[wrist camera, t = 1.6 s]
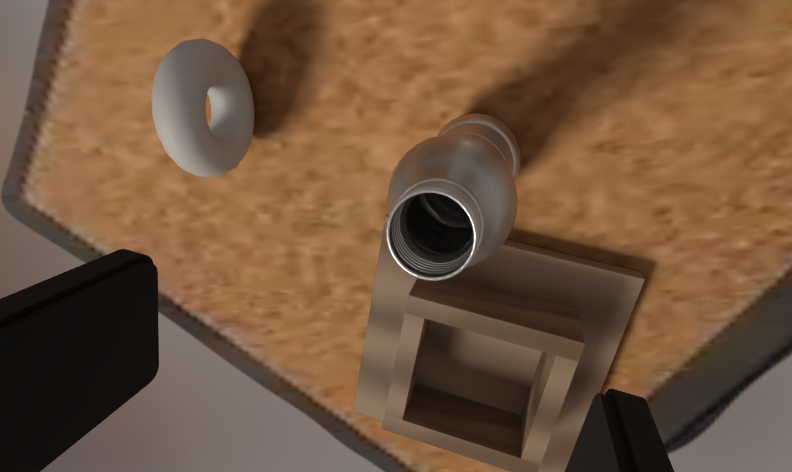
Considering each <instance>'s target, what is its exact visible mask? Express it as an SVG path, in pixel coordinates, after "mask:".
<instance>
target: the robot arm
mask: <svg viewBox="0 0 792 472" xmlns="http://www.w3.org/2000/svg"><path fill="white" fill-rule="evenodd" d="M158 349H159V346H158V272H157V268H156V266H155V265H154V264H153V261H152V259H151V258H150V257H149V256H147V255H144V254H140V253H137V252H133V251H130V250H126V249H121V250H117V251H115V252H113V253H110V254H108V255H105V256H103V257H100V258H98V259H96V260H93V261H91V262H88V263H86V264H84V265H81V266H79V267H76V268H74V269H71V270H69V271H67V272H64V273H62V274H59V275H57V276H55V277H52V278H50V279H48V280H45V281H42V282H40V283H38V284H35V285H33V286H31V287H28V288H26V289H23V290H21V291H18V292H16V293H14V294H11V295H9V296H6V297H4V298H1V299H0V472H40V471H41V470H42V469H44V468H45V467H46V466H47V465H49V464H50V463H51V462H52V461H54V460H55V459H56V458H57V457H59V456H60V455H61V454H62V453H63V452H65V451H66V450H67V449H68V448H70V447H71V446H72V445H73V444H75V443H76V442H77V441H78V440H80V439H81V438H82V437H83V436H85V435H86V434H87V433H88V432H89V431H91V430H92V429H93V428H95V427H96V426H97V425H98V424H99V423H101V422H102V421H103V420H104V419H106V418H107V417H108V416H109V415H111V414H112V413H113V412H114V411H116V410H117V409H118V408H119V407H120V406H122V405H123V404H124V403H125V402H127V401H128V400H129V399H130V398H132V397H133V396H134V395H135V394H137V393H138V392H139V391H140V390H141V389H143V388H144V387H145V386H147V385H148V384H149V383H150V382H151V381H152V380H153V379H154V377H155V376H156V373H157V371H158V367H159V351H158ZM565 472H674V470H673V468H672V465H671V463H670V460H669V458H668V455H667V453H666V450H665V448H664V445H663V442H662V440H661V437H660V435H659V432H658V430H657V427H656V425H655V422H654V420H653V417H652V415H651V412H650V409H649V407H648V404H647V402H646V400H645V399H644V398H642V397H639V396H636V395H632V394H629V393H625V392H622V391H618V390H615V389H609V390H608V391H607V392H606V394H605V395H603V394H600V393H597V394H596V395H595V396H594V398H593V400H592V403H591V405H590V408H589V410H588V413H587V416H586V418H585V421H584V423H583V426H582V428H581V431H580V433H579V436H578V439H577V441H576V444H575V446H574V449H573V451H572V454H571V457H570V459H569V462H568V464H567V467H566V469H565Z"/></svg>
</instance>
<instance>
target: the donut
mask: <svg viewBox="0 0 792 472" xmlns="http://www.w3.org/2000/svg"><path fill="white" fill-rule="evenodd" d="M207 94H208V96H209V99H210V104H211V122H210V127H209V126H208V124H207V118H206V109H205V102H206V97H207ZM152 115H153V119H154V123H155V127H156V131H157V134H158V136H159V138H160V140H161V142H162V144H163V146H164V148H165V150H166V152H167V154H168V155H169V156H170V157H171V158H172V159H173V160H174V161H175V162H176V163H177V164H178V165H179V166H180V167H181V168H182V169H184V170H186V171H188V172H190V173H192V174H194V175H197V176H200V177H215V176H222V175H224V174H226V173H227V172H229V171H231V170H232V169H234V168H236V167H237V165H238V164H239V163H240V161H241V160H242V159H243V157H244V156H245V155H246V153H247V150H248V148H249V145H250V143H251V140H252V135H253V129H254V102H253V96H252V90H251V87H250V84H249V81H248V78H247V75H246V74H245V72H244V70H243V68H242V66H241V65H240V63H239V62H238V60H237V59H236V58H235V57H234V56H233V55H232V54H231V53H230V52H229V51H228V50H227V49H226V48H225V47H223V46H221V45H219V44H217V43H215V42H212V41H210V40H206V39H195V40H188V41H183V42H181V43H179V44H178V45H177V46H175V47H174V48H173V49H172V50H170V51H169V52H168V53H167V54H165V56H164V58H163V60H162V62H161V64H160V65H159V67H158V69H157V71H156V74H155V79H154V84H153V88H152Z"/></svg>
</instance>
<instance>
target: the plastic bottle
mask: <svg viewBox="0 0 792 472" xmlns="http://www.w3.org/2000/svg"><path fill="white" fill-rule="evenodd" d="M519 168H520V151H519V146H518V143H517V141H516V138H515V137H514V135H513V133H512V132H511V130H510V129H509V128H508V127H507V126H506V125H505V124H504V123H502V122H501V121H500V120H498V119H497V118H494V117H492V116H489V115H485V114H479V113H478V114H467V115H463V116H460V117H458V118H456V119H454V120H452V121H451V122H449V123H448V124H447V125H445V127H444V128H443V129H442V130H441V131H440V132H439V134H438V135H437V137H433V138H430V139H427V140H425V141H423V142H421V143H419V144H417V145H416V146H415V147H413V148H412V149H411V150H409V151H408V152H407V153H406V154H405V156H404V157H403V158H402V159H401V160H400V161H399V163H398V165H397V166H396V168H395V170H394V172H393V174H392V177H391V180H390V183H389V187H388V195H387V208H388V217H389V218H388V221H387V227H386V240H387V244H388V248H389V250H390V252H391V255H392V257H393V258H394V260H395V261H396V262H397V264H398V265H399V266H400V267H401V268H402V269H403V270H405V271H406V272H408V273H409V274H410V275H412V276H415V277H417V278H419V279H424V280H429V281H439V280H445V279H448V278H451V277H453V276H455V275H457V274H458V273H460V272H461V271H462V270H463V269H464V268H466V267H469V266H472V265H475V264H477V263H479V262H481V261H482V260H484V259H486V258H487V257H489V256H491V255H492V254H493V253H494V252H495V251H496V250H498V249H499V248H500V247H501V246H502V244H503V243H504V242H505V240H506V239H507V238H508V236H509V234H510V232H511V230H512V228H513V226H514V223H515V218H516V214H517V203H518V197H517V191H516V185H515V180H516V178H517V175H518V172H519Z"/></svg>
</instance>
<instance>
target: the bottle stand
mask: <svg viewBox="0 0 792 472" xmlns="http://www.w3.org/2000/svg"><path fill="white" fill-rule="evenodd" d="M388 218H389V217H388V215H387V216H386V218H385V224H384V230H383V236H382V242H381V248H380V254H379V260H378V266H377V272H376V278H375V284H374V290H373V296H372V301H371V307H370V313H369V319H368V325H367V331H366V337H365V343H364V349H363V355H362V361H361V367H360V373H359V379H358V385H357V391H356V397H355V402H354V408H353V411H354V412H357V413H360V414H364V415H367V416H370V417H373V418H376V419H379V420H382V421H383V425H382V429H384V430H387V431H390V432H393V433H396V434H399V435H402V436H405V437H408V438H411V439H414V440H417V441H420V442H423V443H426V444H430V445H433V446H436V447H439V448H442V449H445V450H448V451H451V452H454V453H457V454H460V455H463V456H466V457H469V458H472V459H475V460H478V461H481V462H484V463H487V464H490V465H493V466H496V467H499V468H502V469H505V470H508V471H511V472H565V469H566V467H567V464H568V462H569V459H570V457H571V454H572V451H573V449H574V446H575V444H576V441H577V439H578V436H579V433H580V431H581V428H582V426H583V423H584V421H585V418H586V416H587V413H588V410H589V408H590V405H591V403H592V400H593V398H594V396H595V395H596V394H597V393H600V391H601V388H602V386H603V383H604V381H605V378H606V376H607V373H608V371H609V368H610V366H611V363H612V361H613V358H614V356H615V353H616V351H617V348H618V346H619V343H620V341H621V338H622V336H623V333H624V331H625V328H626V326H627V323H628V321H629V318H630V316H631V313H632V310H633V308H634V305H635V303H636V300H637V298H638V295H639V293H640V290H641V288H642V285H643V283H644V280H645V279H644V277H643V276H642V274H641V273H640V272H639V271H635V270H630V269H626V268H622V267H618V266H614V265H610V264H606V263H601V262H597V261H593V260H589V259H585V258H581V257H577V256H572V255H568V254H564V253H560V252H556V251H552V250H548V249H543V248H539V247H535V246H531V245H527V244H523V243H519V242H514V241H510V240H505V242H504V243H503V244H502V246H501V247H500V248H499V249H498V250H496V251H495V252H494V253H493V254H492V255H491V256H489V257H487V258H486V259H484V260H482V261H481V262H479V263H477V264H475V265H472V266H469V267H466V268H464V269H463V270H462V271H461V272H460V273H458V274H457V275H455V276H453V277H451V278H448V279H445V280H439V281H429V280H424V279H419V278H417V277H415V276H412V275H410V274H409V273H408V272H406V271H405V270H403V269H402V268H401V267H400V266H399V265H398V264H397V262H396V261H395V260H394V258H393V257H392V255H391V252H390V250H389V248H388V244H387V240H386V227H387V221H388Z"/></svg>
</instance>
